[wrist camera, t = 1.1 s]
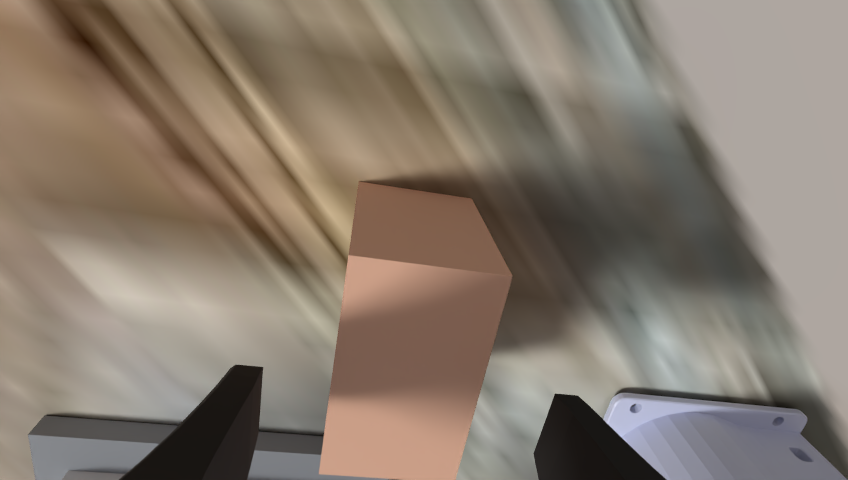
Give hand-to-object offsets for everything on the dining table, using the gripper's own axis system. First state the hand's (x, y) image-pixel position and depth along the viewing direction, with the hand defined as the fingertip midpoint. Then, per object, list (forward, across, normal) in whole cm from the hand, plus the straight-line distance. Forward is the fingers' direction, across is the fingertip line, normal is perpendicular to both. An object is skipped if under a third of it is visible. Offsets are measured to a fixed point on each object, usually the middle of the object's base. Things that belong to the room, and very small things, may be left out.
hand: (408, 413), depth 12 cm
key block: (+7, 0, 0) cm, 7 cm away
